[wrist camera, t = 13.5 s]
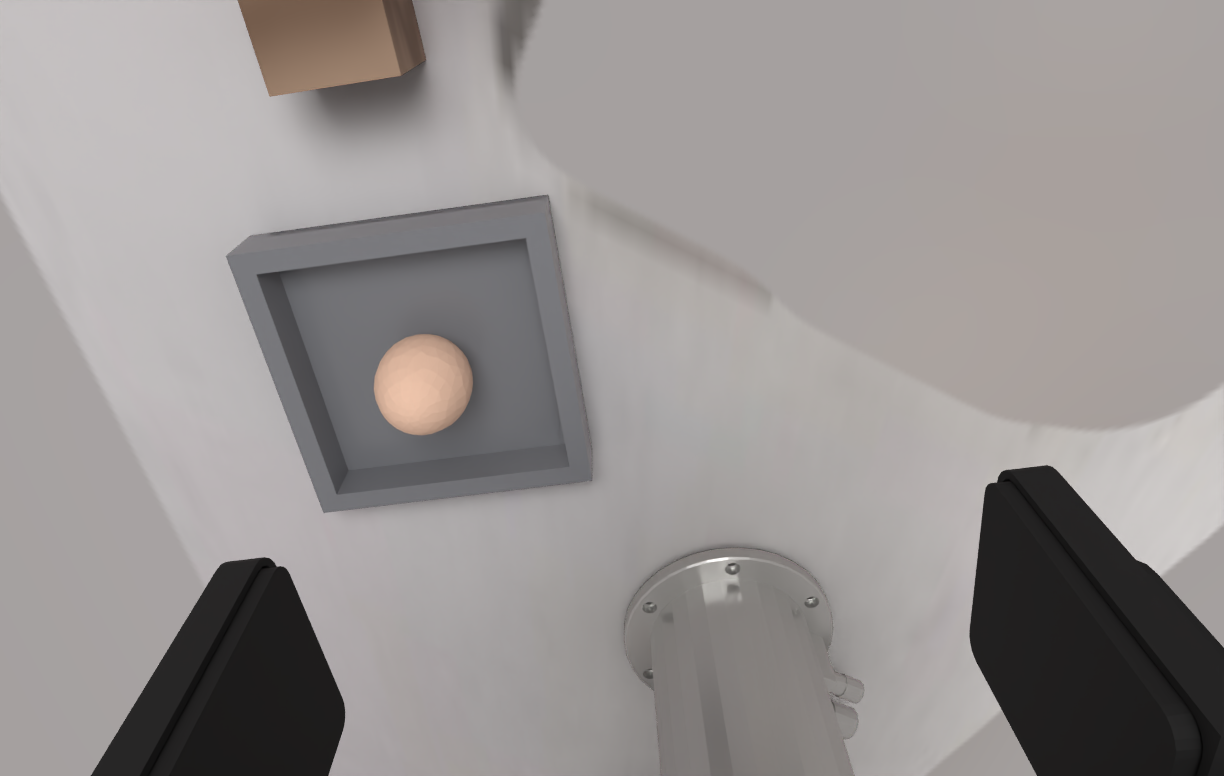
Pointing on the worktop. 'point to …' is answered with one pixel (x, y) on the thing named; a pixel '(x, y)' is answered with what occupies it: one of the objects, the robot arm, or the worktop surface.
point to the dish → (409, 305)
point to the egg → (423, 384)
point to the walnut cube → (331, 41)
